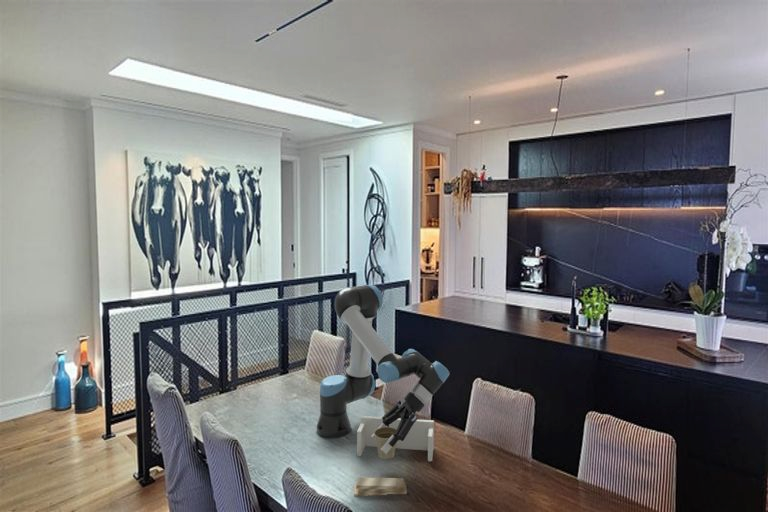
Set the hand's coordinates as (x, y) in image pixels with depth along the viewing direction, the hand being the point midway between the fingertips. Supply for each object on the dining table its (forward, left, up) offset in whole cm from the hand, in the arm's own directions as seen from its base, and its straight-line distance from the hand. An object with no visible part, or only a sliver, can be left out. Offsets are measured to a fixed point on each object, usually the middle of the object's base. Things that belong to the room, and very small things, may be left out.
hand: (378, 444), depth 166 cm
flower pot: (+3, +2, -5) cm, 6 cm away
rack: (+4, +15, -10) cm, 18 cm away
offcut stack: (+2, -11, -11) cm, 16 cm away
